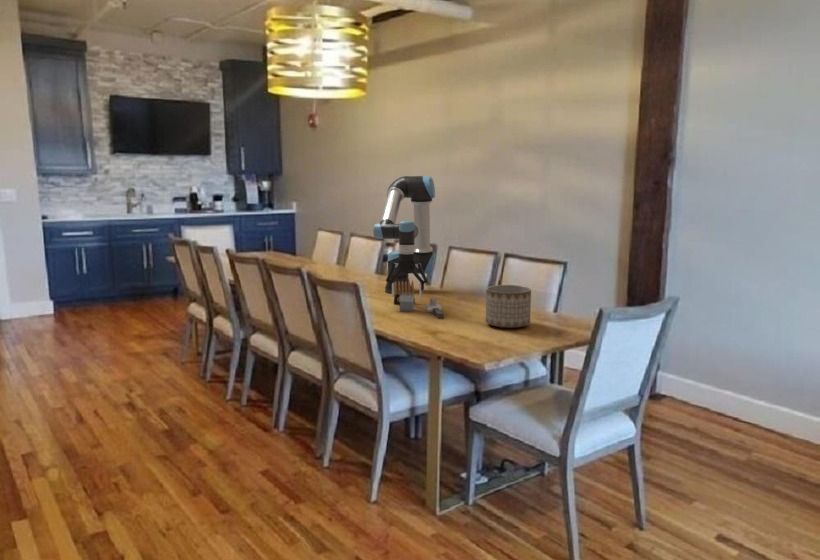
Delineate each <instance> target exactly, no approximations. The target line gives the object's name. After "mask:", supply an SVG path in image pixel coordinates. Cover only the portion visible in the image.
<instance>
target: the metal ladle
mask: <svg viewBox="0 0 820 560" xmlns="http://www.w3.org/2000/svg"><path fill="white" fill-rule="evenodd" d="M429 300H430V301H429V302H430V303H426V304H425V305H424V306H425V307H424V313H428V314H432V315H434V316H435V317H436V318H437V319H438V320H440V319H441V320H442V319H445V314H444V312H443V310H442V308H443V307H442V304H441V303H437V299H436V298H430V299H429Z"/></svg>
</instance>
